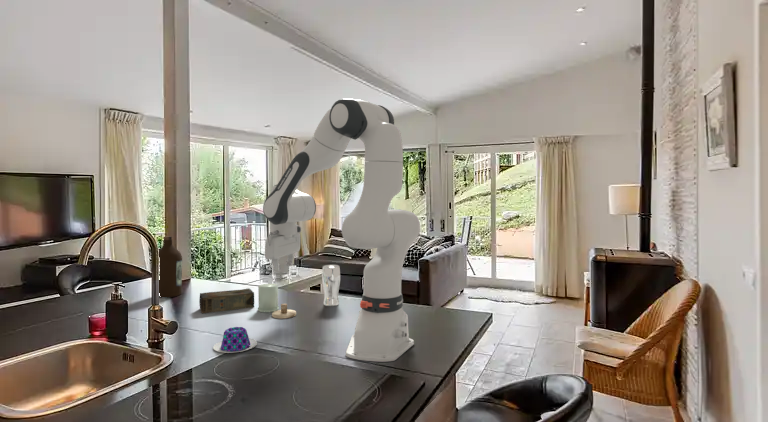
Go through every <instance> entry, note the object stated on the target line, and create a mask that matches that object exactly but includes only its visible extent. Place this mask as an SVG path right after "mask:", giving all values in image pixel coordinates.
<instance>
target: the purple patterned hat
mask: <svg viewBox="0 0 768 422" xmlns="http://www.w3.org/2000/svg"><path fill="white" fill-rule="evenodd" d="M248 334H249V333H248V331H247V329H246V328H245V327H243V326H234V327H230V328H227V329H225V330H224V332H223V337H222V340H221V341H219V342H217V343H214V345H213V347H212V348H213V350H214V351H216V352H218V353H225V354H229V353H230V354H232V353H239V352H240V353H241V352H244V351H249V350H250V349H253V348H255V347H256V346H257V345H258V341H257V340H256V339H254V338H250V337H249V335H248Z"/></svg>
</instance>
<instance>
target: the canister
mask: <svg viewBox="0 0 768 422" xmlns="http://www.w3.org/2000/svg"><path fill="white" fill-rule="evenodd" d="M257 288H258V291H257V292H258V293H257V294H258V295H257V296H258V307H257V311H258V312H260V313H273V312H274V311H277V310H280V306H279V286H278V284H277V283H262V284H259V285H258V287H257Z"/></svg>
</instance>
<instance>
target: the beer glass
mask: <svg viewBox="0 0 768 422" xmlns="http://www.w3.org/2000/svg"><path fill="white" fill-rule="evenodd" d="M321 276H322V277H321V279H322V280H321V281H322V286H323V287H322V288H323V292H324V299H323V306H325V307H336V306H339V305H340V300H339V290H340V284H341V269H340V265H338V264H325V265H322V271H321Z"/></svg>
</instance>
